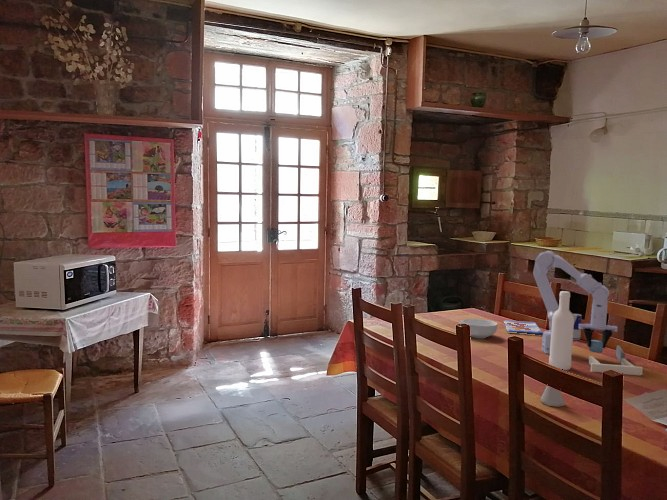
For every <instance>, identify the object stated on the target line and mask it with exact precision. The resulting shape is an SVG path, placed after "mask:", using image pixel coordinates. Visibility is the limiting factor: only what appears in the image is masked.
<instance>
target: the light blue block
mask: <svg viewBox="0 0 667 500" xmlns="http://www.w3.org/2000/svg"><path fill="white" fill-rule="evenodd" d="M588 348H589V349H588V350H589V352H591V353H596V354H600V353H603V350H604V348H603V342H602V340H597V339H591V347H588Z"/></svg>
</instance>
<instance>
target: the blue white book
mask: <svg viewBox="0 0 667 500" xmlns="http://www.w3.org/2000/svg"><path fill="white" fill-rule="evenodd" d="M503 322H504V323H505V326H506V329H507V331H508V332H517V333H527V334H535V335H542V336H543V332H544V331H542V330H541V328H539V326H538V325H537V322H535V321H524V320H523V321H522V320H519V321H518V320H513V319H506V320H503ZM503 322H502V323H503ZM507 323H511V324H513V325H517V324H514V323H519V324H526V325H524V326H525V327H524V328H529V329H531V330H525V329H520V330H515V328H512V327H516V326H512V325H509V324H507ZM527 325H528V326H527ZM517 326H520V325H517ZM521 327H522V326H521ZM506 329H505V330H506ZM507 331H506V332H507Z"/></svg>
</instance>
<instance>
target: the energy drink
mask: <svg viewBox="0 0 667 500" xmlns="http://www.w3.org/2000/svg"><path fill="white" fill-rule="evenodd" d="M572 314H573V317H574V328H573V340H579V341H580V340H581V337H582V336H581V333H582V329H579V324H583V322H582V321H583V320H582V319H583V316H582V314H579V313H572Z"/></svg>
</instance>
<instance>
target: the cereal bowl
mask: <svg viewBox="0 0 667 500" xmlns="http://www.w3.org/2000/svg"><path fill="white" fill-rule="evenodd" d="M461 324H468V325H469V326H470V333H471V336H470V338H473V339H487V338H486V337H490V336H493V335H494V334H495V333H496V332H497V330H498V325H499V324H498V322H496V321H493V320H490V319H484V318H465V319H462V320H460V325H461Z"/></svg>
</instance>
